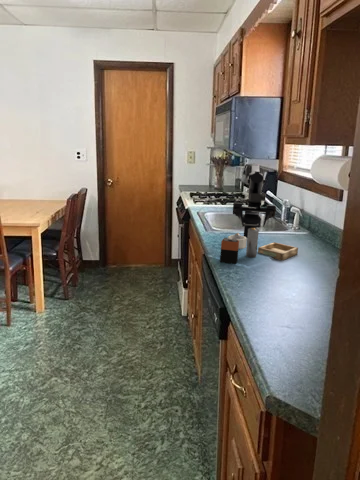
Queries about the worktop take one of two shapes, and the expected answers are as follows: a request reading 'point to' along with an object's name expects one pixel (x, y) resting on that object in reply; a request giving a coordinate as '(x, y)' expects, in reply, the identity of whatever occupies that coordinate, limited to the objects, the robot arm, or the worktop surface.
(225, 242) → the battery
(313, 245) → the worktop surface
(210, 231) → the worktop surface
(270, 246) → the wooden tray
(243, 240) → the cup
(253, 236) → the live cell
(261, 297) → the worktop surface
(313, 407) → the worktop surface
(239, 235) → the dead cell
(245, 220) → the robot arm
